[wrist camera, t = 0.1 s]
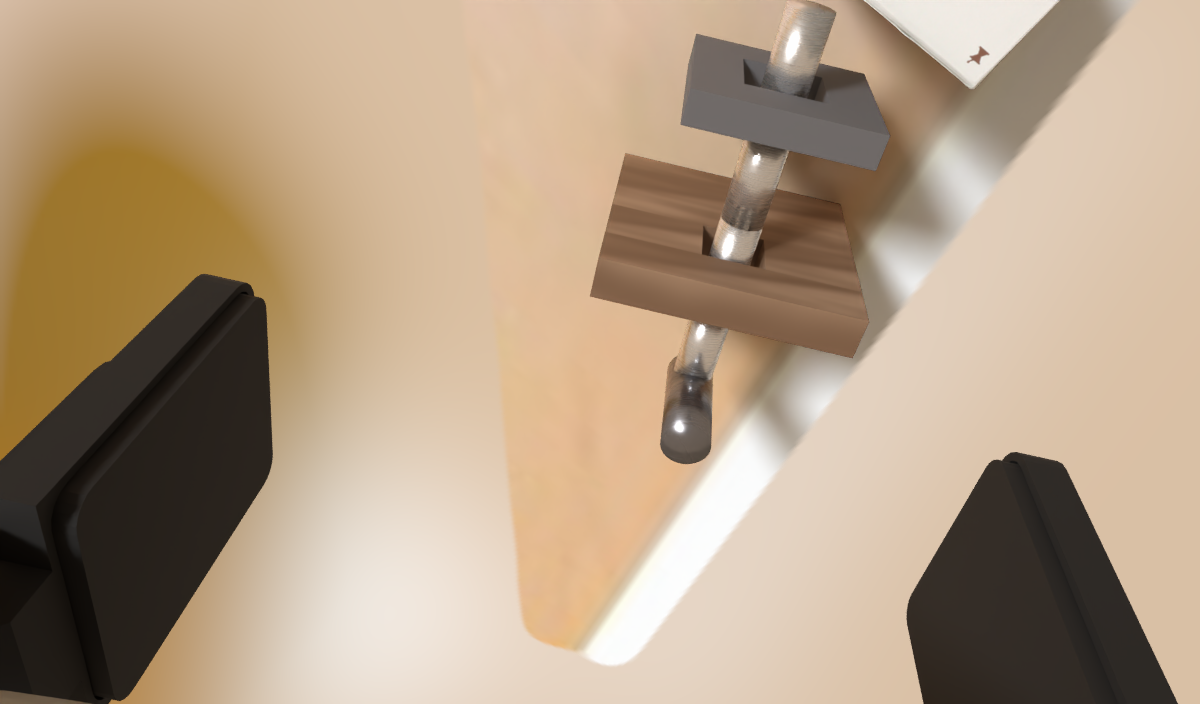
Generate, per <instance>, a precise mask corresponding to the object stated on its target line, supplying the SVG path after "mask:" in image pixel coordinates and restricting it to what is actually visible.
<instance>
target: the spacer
mask: <svg viewBox="0 0 1200 704" xmlns="http://www.w3.org/2000/svg"><path fill="white" fill-rule="evenodd" d="M770 55H771V52H770V51H766V50H762V49H757V48H753V47H749V46H745V45H741V44H736V43H732V42H728V41H724V40H720V39H716V38H711V37H707V36H703V35H699V34H696V37H695V41H694V45H693V49H692V53H691V56H690V60H689V64H688V71H687V78H686V86H685V94H684V102H683V110H682V118H681V125H684V126H688V127H692V128H696V129H700V130H705V131H709V132H713V133H717V134H721V135H726V136H730V137H734V138H738V139H742V140H747V141H751V142H755V143H759V144H764V145H768V146H772V147H776V148H780V149H785V150H789V151H793V152H797V153H801V154H806V155H810V156H814V157H818V158H822V159H827V160H831V161H835V162H839V163H843V164H848V165H852V166H856V167H860V168H864V169H869V170H873V171H876V169H877V167H878V165H879V162H880V160H881V157H882V155H883V152H884V150H885V147H886V145H887V143H888V140H889V138H890V134H889V132H888V130H887V127H886V125H885V122H884V120H883V118H882V115H881V113H880V111H879V108H878V106H877V103H876V101H875V99H874V96H873V94H872V92H871V89H870V87H869V84H868V82H867V80H866V77H865V75H864V74H862V73H858V72H853V71H849V70H845V69H841V68H837V67H833V66H828V65H824V64H820V63H819V66H818V69H817V71H816V74H815V77H814V80H813V83H812V86H811V89H810V92H809V95H808V98H807V99H806V98H802V97H798V96H793V95H789V94H785V93H781V92H777V91H772V90H768V89H764V88H760V87H761V84H762V81H763V78H764V74H765V71H766V68H767V65H768V61H769V58H770Z"/></svg>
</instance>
